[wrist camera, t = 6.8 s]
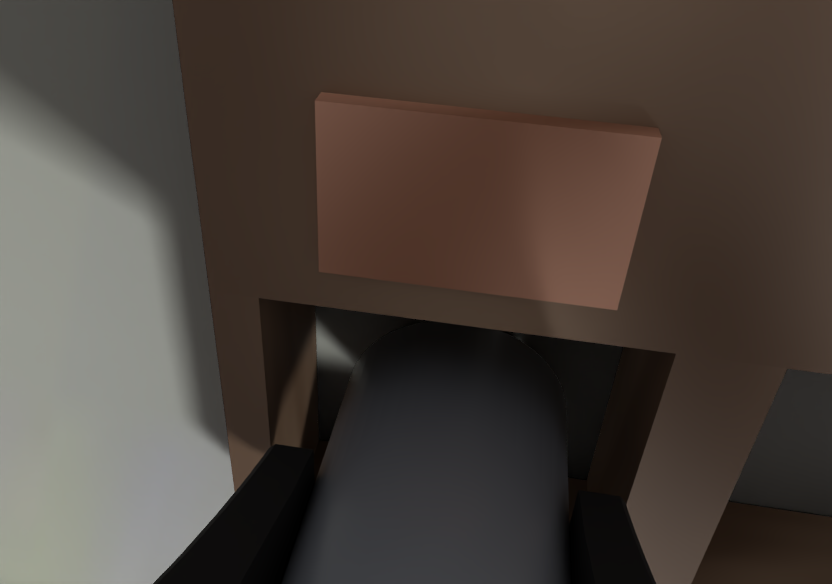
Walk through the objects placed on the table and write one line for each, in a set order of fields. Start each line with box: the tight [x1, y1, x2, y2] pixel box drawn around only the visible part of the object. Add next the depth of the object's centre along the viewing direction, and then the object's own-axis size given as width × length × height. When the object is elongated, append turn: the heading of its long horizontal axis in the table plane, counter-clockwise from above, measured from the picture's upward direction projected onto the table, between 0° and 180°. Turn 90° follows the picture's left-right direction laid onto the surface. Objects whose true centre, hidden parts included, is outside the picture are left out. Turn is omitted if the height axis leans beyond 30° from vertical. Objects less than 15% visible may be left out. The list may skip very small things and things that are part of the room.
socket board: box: [172, 0, 832, 584], centre depth 12 cm, size 15×14×3 cm
